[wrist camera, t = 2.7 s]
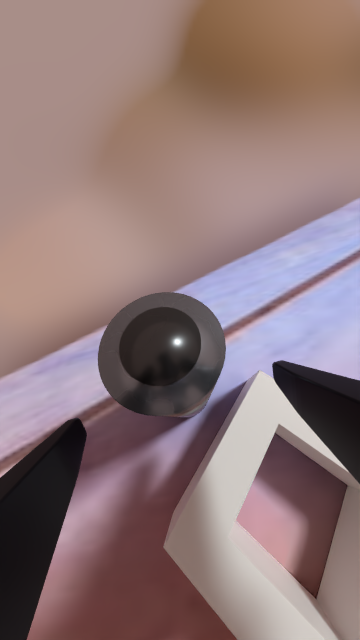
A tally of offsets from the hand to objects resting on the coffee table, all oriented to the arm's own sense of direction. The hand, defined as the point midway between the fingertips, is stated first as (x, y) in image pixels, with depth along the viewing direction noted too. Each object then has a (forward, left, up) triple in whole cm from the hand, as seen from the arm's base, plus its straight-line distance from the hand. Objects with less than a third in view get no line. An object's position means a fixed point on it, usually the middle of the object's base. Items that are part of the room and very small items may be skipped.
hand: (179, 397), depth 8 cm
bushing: (+1, +1, -9) cm, 9 cm away
